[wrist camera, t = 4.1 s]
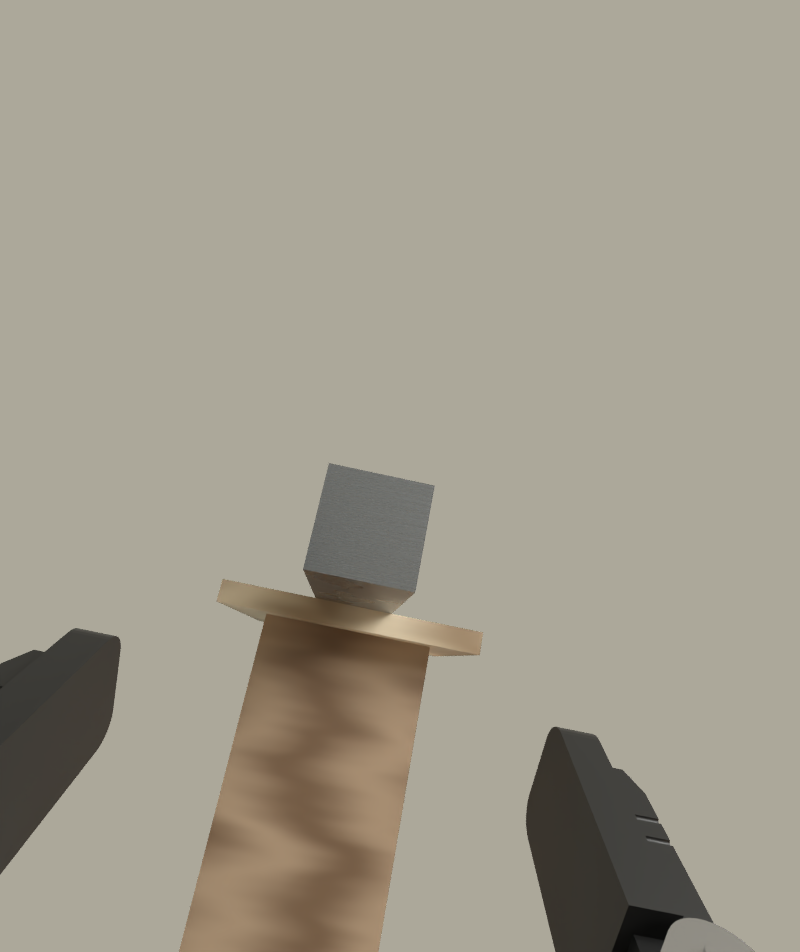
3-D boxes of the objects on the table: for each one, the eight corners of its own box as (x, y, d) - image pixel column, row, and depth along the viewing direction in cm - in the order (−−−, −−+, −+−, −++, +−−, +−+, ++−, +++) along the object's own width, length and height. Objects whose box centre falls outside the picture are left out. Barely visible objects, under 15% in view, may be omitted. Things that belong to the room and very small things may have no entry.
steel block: (299, 568, 18) (326, 462, 19) (323, 619, 41) (334, 569, 42) (418, 593, 18) (437, 486, 19) (375, 629, 41) (385, 579, 42)
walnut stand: (-135, 1698, 16) (200, 574, 26) (78, 1233, 30) (248, 602, 40) (354, 1767, 17) (504, 636, 27) (349, 1278, 30) (450, 644, 40)
